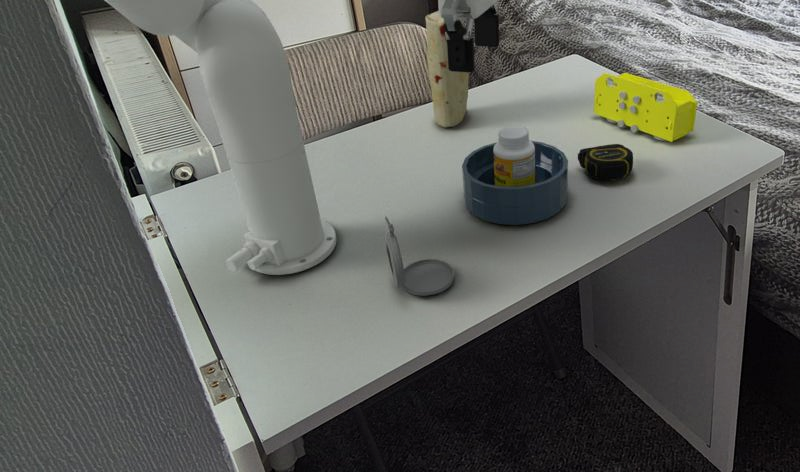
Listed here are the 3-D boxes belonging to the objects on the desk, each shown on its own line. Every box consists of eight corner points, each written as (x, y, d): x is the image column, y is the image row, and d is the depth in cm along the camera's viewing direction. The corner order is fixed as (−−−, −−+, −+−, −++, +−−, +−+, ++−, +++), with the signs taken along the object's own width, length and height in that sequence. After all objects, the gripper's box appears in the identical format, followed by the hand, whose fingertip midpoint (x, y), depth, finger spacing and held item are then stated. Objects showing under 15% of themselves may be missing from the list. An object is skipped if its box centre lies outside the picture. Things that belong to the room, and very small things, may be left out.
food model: (464, 132, 113) (456, 16, 102) (427, 131, 115) (415, 17, 104) (475, 109, 121) (469, -1, 110) (440, 109, 123) (431, 0, 112)
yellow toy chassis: (591, 118, 112) (593, 71, 107) (615, 108, 114) (618, 62, 109) (669, 147, 100) (675, 96, 95) (693, 136, 102) (701, 85, 98)
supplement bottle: (490, 191, 94) (487, 126, 89) (527, 184, 95) (526, 119, 89) (502, 210, 90) (499, 143, 84) (540, 203, 90) (540, 135, 85)
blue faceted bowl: (541, 237, 84) (541, 197, 81) (447, 214, 92) (443, 177, 88) (582, 186, 94) (583, 148, 90) (493, 169, 101) (491, 134, 98)
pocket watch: (465, 277, 79) (460, 207, 74) (417, 314, 75) (408, 242, 69) (417, 254, 84) (408, 187, 79) (370, 287, 80) (357, 218, 74)
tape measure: (621, 160, 98) (623, 138, 96) (639, 182, 93) (641, 158, 91) (576, 167, 98) (577, 145, 96) (591, 189, 93) (593, 165, 91)
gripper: (464, -101, 81) (469, 36, 91) (408, -77, 69) (421, 80, 78) (523, -104, 78) (522, 38, 88) (476, -80, 66) (481, 84, 75)
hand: (474, 57), depth 83 cm, fingers open, 9 cm apart
